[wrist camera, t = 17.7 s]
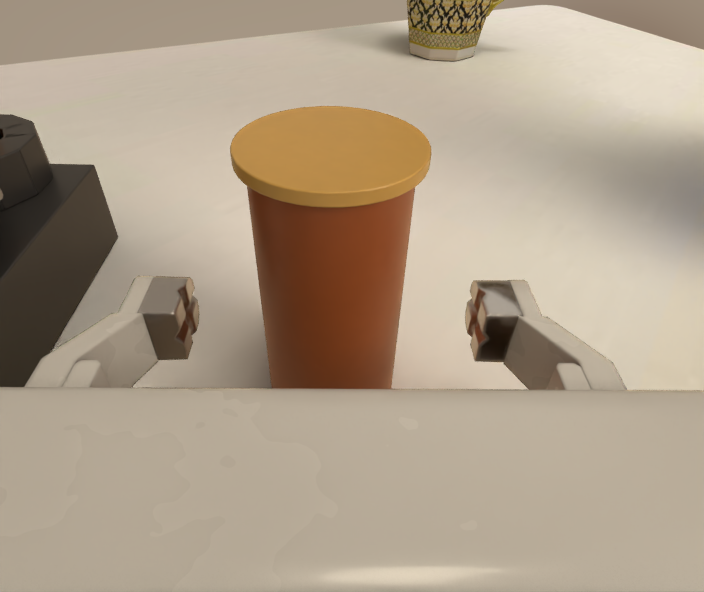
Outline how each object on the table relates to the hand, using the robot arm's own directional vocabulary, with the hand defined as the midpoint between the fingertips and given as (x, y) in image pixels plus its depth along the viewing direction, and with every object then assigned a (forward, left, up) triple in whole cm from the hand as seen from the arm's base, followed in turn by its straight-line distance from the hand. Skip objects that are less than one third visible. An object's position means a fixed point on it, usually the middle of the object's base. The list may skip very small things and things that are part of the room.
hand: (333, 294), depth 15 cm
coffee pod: (-1, 0, -5) cm, 5 cm away
